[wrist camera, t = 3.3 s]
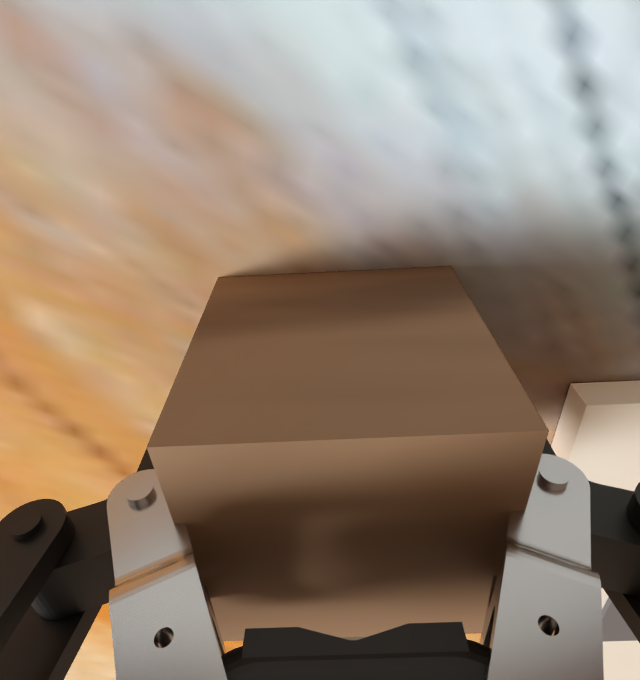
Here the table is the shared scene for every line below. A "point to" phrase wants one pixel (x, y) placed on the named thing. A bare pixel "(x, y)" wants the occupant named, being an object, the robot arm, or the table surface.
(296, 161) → the table surface
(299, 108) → the table surface
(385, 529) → the walnut block
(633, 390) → the cream board
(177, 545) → the robot arm
